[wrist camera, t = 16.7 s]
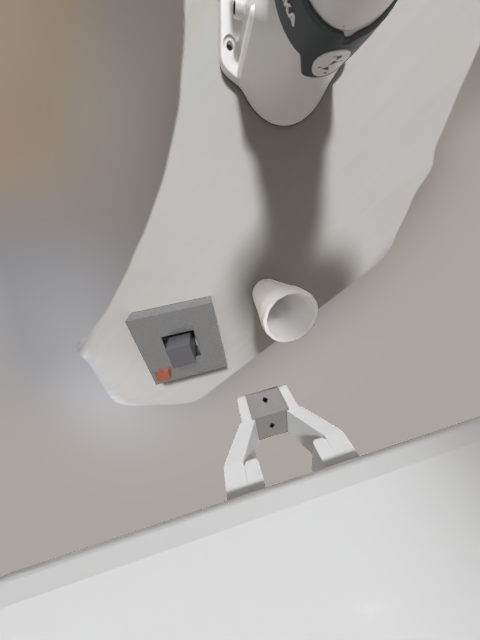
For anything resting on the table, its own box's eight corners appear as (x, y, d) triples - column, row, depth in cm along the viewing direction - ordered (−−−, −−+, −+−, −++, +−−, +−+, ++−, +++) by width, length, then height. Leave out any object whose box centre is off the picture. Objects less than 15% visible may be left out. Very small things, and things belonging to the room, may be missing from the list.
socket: (131, 312, 39) (123, 324, 34) (210, 295, 40) (212, 304, 36) (159, 372, 46) (155, 387, 42) (224, 355, 48) (227, 369, 43)
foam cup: (245, 314, 44) (262, 345, 32) (244, 273, 40) (263, 293, 28) (285, 309, 45) (314, 337, 34) (287, 269, 41) (322, 286, 30)
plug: (170, 330, 42) (165, 350, 35) (190, 325, 42) (189, 344, 36) (177, 347, 44) (173, 368, 37) (196, 342, 44) (195, 362, 38)
